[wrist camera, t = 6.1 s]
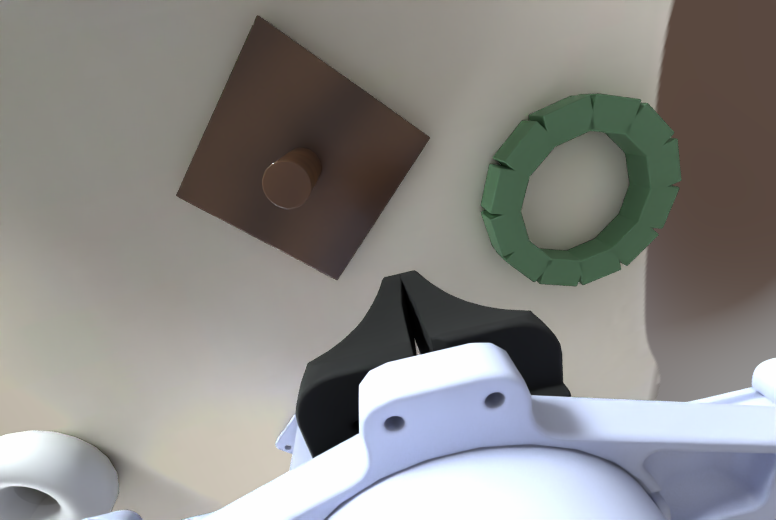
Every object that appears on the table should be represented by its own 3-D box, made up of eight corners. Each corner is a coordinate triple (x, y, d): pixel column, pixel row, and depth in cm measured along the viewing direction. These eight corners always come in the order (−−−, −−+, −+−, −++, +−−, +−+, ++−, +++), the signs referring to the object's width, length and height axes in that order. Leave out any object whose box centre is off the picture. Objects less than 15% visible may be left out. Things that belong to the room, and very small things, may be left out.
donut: (111, 415, 26) (-45, 422, 25) (79, 457, 23) (-101, 468, 22) (142, 506, 30) (8, 515, 29) (118, 553, 27) (-34, 566, 26)
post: (427, 136, 20) (454, 147, 15) (337, 274, 23) (332, 326, 18) (261, 19, 18) (219, -21, 12) (183, 192, 20) (119, 223, 15)
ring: (613, 47, 19) (638, 41, 18) (683, 204, 23) (708, 212, 22) (444, 181, 21) (452, 187, 20) (535, 305, 25) (547, 319, 24)
